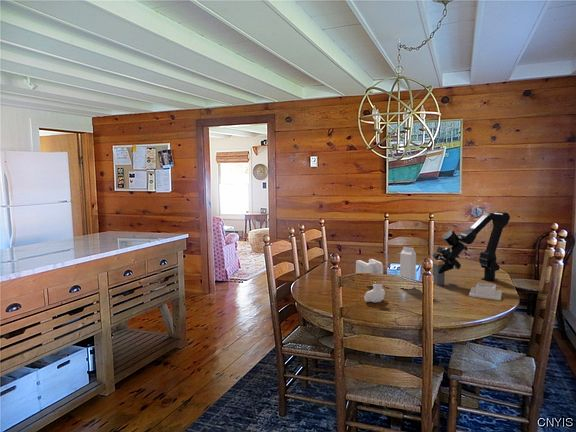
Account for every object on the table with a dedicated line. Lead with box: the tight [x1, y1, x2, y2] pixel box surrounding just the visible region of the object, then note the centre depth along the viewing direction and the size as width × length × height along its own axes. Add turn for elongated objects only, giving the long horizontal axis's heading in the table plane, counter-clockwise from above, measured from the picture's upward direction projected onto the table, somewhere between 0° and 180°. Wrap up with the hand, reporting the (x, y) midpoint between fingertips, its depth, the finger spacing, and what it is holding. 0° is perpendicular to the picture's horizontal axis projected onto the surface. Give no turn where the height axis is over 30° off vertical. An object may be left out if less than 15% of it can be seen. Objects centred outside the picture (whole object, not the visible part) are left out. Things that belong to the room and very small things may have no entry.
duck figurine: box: [364, 284, 386, 303], centre depth 194 cm, size 12×8×11 cm
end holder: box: [468, 282, 503, 301], centre depth 205 cm, size 14×14×5 cm
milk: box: [399, 246, 417, 281], centre depth 216 cm, size 6×6×22 cm
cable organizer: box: [355, 258, 384, 275], centre depth 231 cm, size 15×11×12 cm
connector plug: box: [432, 259, 446, 286], centre depth 224 cm, size 4×4×13 cm
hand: (436, 272), depth 224 cm, fingers closed on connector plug, 4 cm apart
